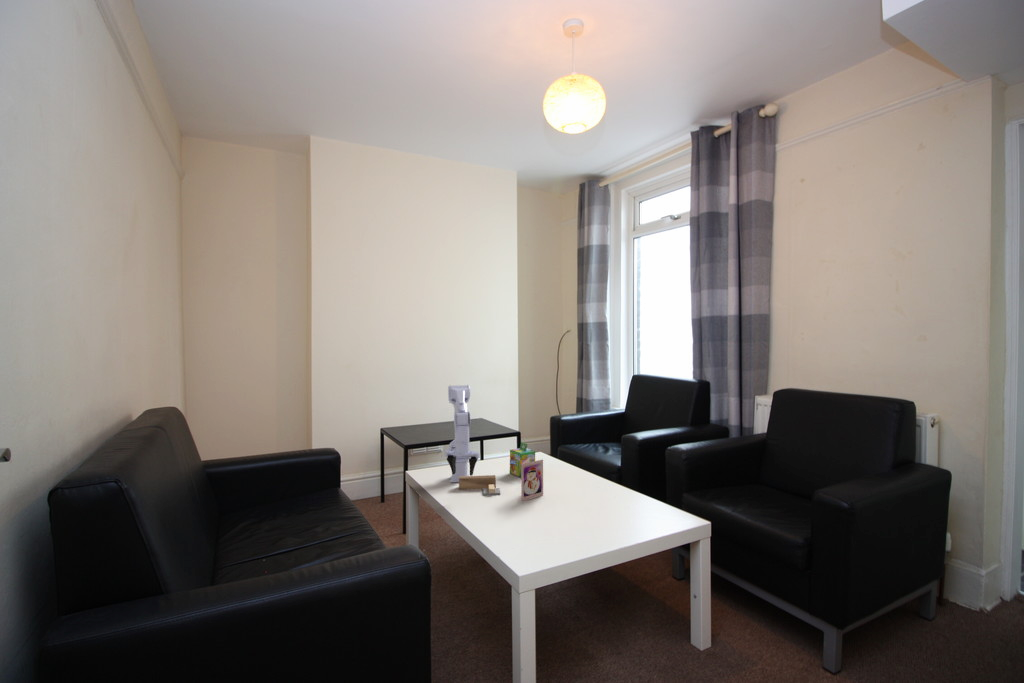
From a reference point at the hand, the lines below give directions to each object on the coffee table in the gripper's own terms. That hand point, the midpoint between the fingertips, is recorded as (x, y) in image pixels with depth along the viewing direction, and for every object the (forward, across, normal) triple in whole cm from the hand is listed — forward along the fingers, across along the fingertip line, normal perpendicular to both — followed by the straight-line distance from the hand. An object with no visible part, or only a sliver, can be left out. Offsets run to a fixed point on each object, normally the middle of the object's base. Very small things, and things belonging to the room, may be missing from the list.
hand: (462, 474), depth 192 cm
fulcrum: (+10, +10, +9) cm, 16 cm away
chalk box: (+10, +17, +38) cm, 42 cm away
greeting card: (+10, +26, +8) cm, 29 cm away
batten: (+10, +2, +13) cm, 17 cm away
